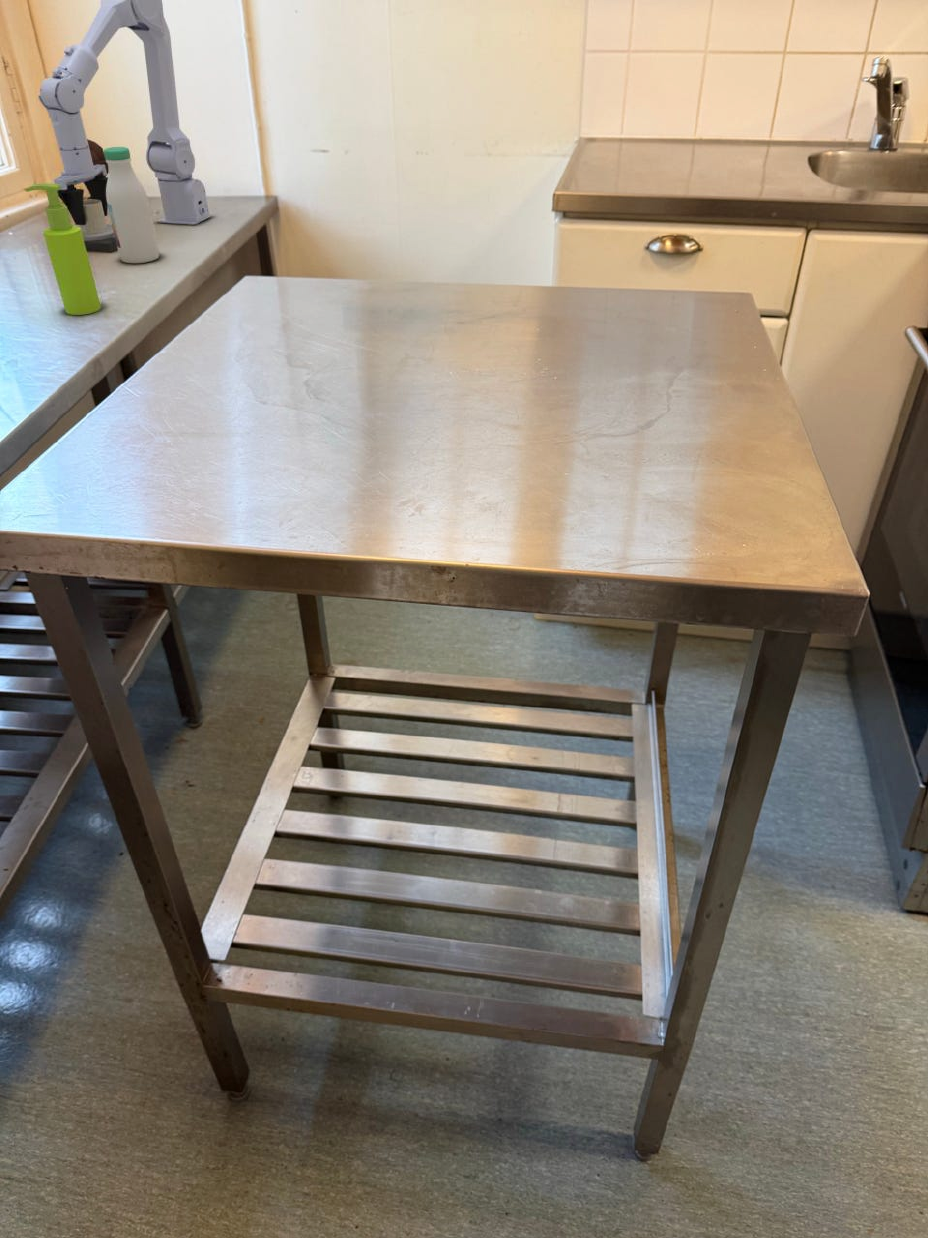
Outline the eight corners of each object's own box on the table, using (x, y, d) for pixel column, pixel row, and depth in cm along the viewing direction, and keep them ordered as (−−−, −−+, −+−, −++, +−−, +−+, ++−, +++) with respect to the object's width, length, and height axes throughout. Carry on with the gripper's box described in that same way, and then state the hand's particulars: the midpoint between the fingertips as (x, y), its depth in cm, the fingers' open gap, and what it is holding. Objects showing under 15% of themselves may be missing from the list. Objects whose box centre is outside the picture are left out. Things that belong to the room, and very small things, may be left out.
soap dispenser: (67, 303, 158) (33, 180, 146) (105, 303, 158) (74, 180, 146) (54, 314, 154) (17, 188, 141) (93, 314, 153) (60, 188, 141)
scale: (140, 238, 192) (137, 225, 191) (110, 252, 184) (107, 239, 182) (88, 234, 195) (85, 222, 194) (56, 248, 187) (53, 235, 185)
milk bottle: (167, 254, 182) (145, 145, 170) (145, 265, 176) (120, 153, 164) (135, 251, 184) (111, 143, 172) (112, 262, 178) (85, 150, 166)
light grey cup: (113, 227, 190) (106, 199, 186) (97, 234, 185) (90, 206, 182) (90, 226, 191) (83, 198, 188) (74, 232, 187) (67, 204, 183)
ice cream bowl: (106, 207, 215) (90, 137, 206) (64, 205, 217) (46, 136, 208) (128, 197, 223) (113, 129, 214) (88, 196, 225) (71, 128, 216)
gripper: (78, 140, 185) (95, 210, 193) (33, 153, 174) (53, 227, 182) (108, 141, 184) (124, 212, 192) (64, 155, 173) (83, 229, 181)
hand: (91, 219), depth 187 cm, fingers open, 7 cm apart
